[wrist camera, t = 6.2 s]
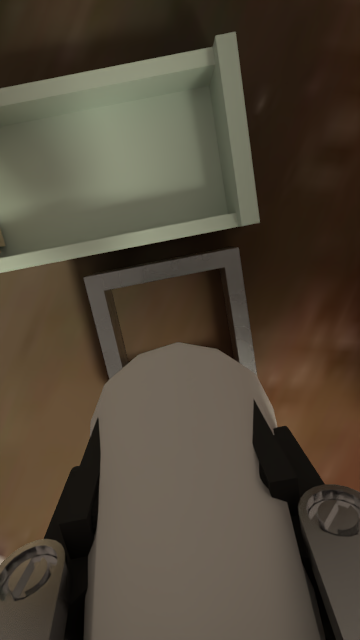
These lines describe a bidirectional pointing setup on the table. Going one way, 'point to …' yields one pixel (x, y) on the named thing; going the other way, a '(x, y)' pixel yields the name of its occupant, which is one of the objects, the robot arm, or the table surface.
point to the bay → (125, 157)
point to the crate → (1, 240)
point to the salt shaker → (190, 510)
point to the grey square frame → (162, 269)
